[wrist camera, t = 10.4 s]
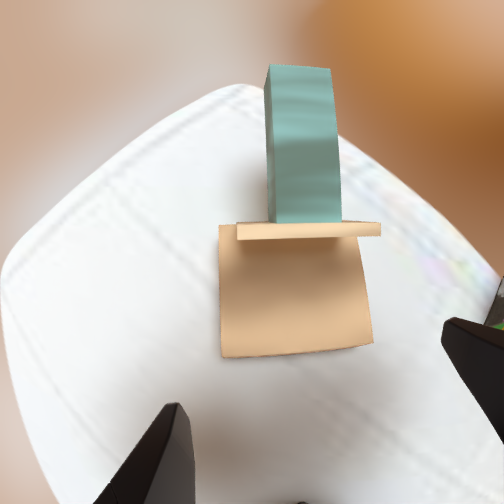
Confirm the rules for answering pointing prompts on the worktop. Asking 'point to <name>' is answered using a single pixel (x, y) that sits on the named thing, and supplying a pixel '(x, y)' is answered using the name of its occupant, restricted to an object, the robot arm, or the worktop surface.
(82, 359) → the worktop surface
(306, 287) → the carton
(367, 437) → the worktop surface
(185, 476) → the robot arm
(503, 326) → the chalk box
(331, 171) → the tall teal pillar
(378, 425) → the worktop surface
